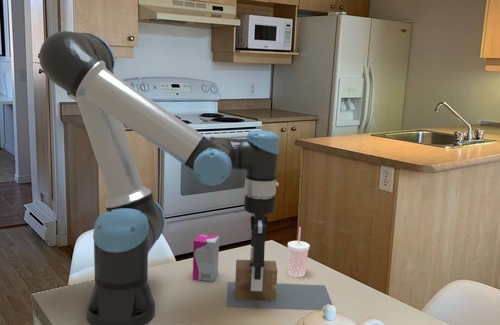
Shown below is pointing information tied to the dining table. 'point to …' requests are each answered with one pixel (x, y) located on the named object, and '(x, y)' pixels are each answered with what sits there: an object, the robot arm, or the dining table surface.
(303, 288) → the slate mat
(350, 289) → the dining table surface
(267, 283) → the walnut block
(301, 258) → the beverage cup
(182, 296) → the dining table surface
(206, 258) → the supplement box
